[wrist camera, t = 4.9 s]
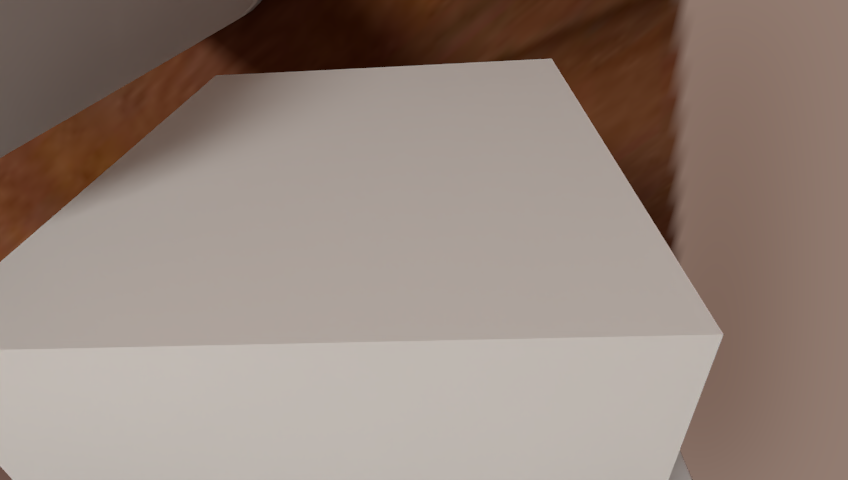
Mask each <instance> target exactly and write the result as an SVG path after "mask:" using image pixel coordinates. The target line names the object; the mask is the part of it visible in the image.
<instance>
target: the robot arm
mask: <svg viewBox="0 0 848 480" xmlns="http://www.w3.org/2000/svg"><path fill="white" fill-rule="evenodd" d="M669 480H692V477H691V475H690V473H689V471H688V468H687V466H686V463H685V461H684V459H683V456H682V454H681V452H680V451H679V454H678V456H677V459H676V461H675V464H674V467H673V469H672V472H671V475H670V477H669Z"/></svg>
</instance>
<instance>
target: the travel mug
mask: <svg viewBox="0 0 848 480" xmlns="http://www.w3.org/2000/svg"><path fill="white" fill-rule="evenodd" d="M261 1H262V0H0V158H1V157H2V156H4V155H6V154H8V153H9V152H11V151H13V150H14V149H16V148H18V147H20V146H21V145H23V144H25V143H27V142H28V141H30V140H32V139H33V138H35V137H37V136H39V135H40V134H42V133H44V132H45V131H47V130H49V129H51V128H52V127H54V126H56V125H57V124H59V123H61V122H63V121H64V120H66V119H68V118H70V117H71V116H73V115H75V114H76V113H78V112H80V111H82V110H83V109H85V108H87V107H88V106H90V105H92V104H94V103H95V102H97V101H99V100H100V99H102V98H104V97H106V96H107V95H109V94H111V93H113V92H114V91H116V90H118V89H119V88H121V87H123V86H125V85H126V84H128V83H130V82H131V81H133V80H135V79H137V78H138V77H140V76H142V75H143V74H145V73H147V72H149V71H150V70H152V69H154V68H156V67H157V66H159V65H161V64H162V63H164V62H166V61H168V60H169V59H171V58H173V57H174V56H176V55H178V54H180V53H181V52H183V51H185V50H186V49H188V48H190V47H192V46H193V45H195V44H197V43H199V42H200V41H202V40H204V39H205V38H207V37H209V36H211V35H212V34H214V33H216V32H217V31H219V30H221V29H223V28H224V27H226V26H228V25H229V24H231V23H233V22H235V21H236V20H238V19H240V18H241V17H243V16H245V15H246V14H248V13H249V12H251V11H252V10H254V8H255V7H256V6H257V5H258V4H259V3H260V2H261Z"/></svg>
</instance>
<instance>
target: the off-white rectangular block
mask: <svg viewBox="0 0 848 480" xmlns="http://www.w3.org/2000/svg"><path fill="white" fill-rule="evenodd" d="M722 337H723V333H722V331H721V329H720V328H719V326H718V325H717V323H716V321H715V320H714V319H713V317H712V315H711V313H710V312H709V310H708V309H707V308H706V305H705V304H704V302H703V301H702V299H701V297H700V296H699V294H698V293H697V291H696V289H695V288H694V286H693V285H692V283H691V281H690V280H689V278H688V277H687V275H686V273H685V272H684V270H683V269H682V267H681V265H680V264H679V262H678V261H677V259H676V257H675V256H674V254H673V253H672V251H671V249H670V248H669V246H668V244H667V243H666V241H665V240H664V238H663V236H662V235H661V233H660V232H659V230H658V228H657V227H656V225H655V224H654V222H653V220H652V219H651V217H650V216H649V214H648V212H647V211H646V209H645V208H644V206H643V204H642V203H641V201H640V200H639V198H638V196H637V195H636V193H635V192H634V190H633V188H632V187H631V185H630V184H629V182H628V180H627V179H626V177H625V176H624V174H623V172H622V171H621V169H620V168H619V166H618V164H617V163H616V161H615V160H614V158H613V156H612V155H611V153H610V152H609V150H608V148H607V147H606V145H605V144H604V142H603V140H602V139H601V137H600V136H599V134H598V132H597V131H596V129H595V127H594V126H593V124H592V123H591V121H590V119H589V118H588V116H587V115H586V113H585V111H584V110H583V108H582V107H581V105H580V103H579V102H578V100H577V99H576V97H575V95H574V94H573V92H572V91H571V89H570V87H569V86H568V84H567V83H566V81H565V79H564V78H563V76H562V75H561V73H560V71H559V70H558V68H557V67H556V65H555V63H554V62H553V60H552V59H535V60H515V61H495V62H475V63H455V64H436V65H416V66H396V67H376V68H356V69H336V70H316V71H297V72H277V73H257V74H237V75H217V76H215V77H214V78H213V79H211V80H210V81H209V82H208V83H207V84H206V85H204V86H203V87H202V88H201V89H200V90H199V91H198V92H196V93H195V94H194V95H193V96H192V97H191V98H189V99H188V100H187V101H186V102H185V103H184V104H182V105H181V106H180V107H179V108H178V109H177V110H176V111H174V112H173V113H172V114H171V115H170V116H169V117H167V118H166V119H165V120H164V121H163V122H162V123H161V124H159V125H158V126H157V127H156V128H155V129H154V130H152V131H151V132H150V133H149V134H148V135H147V136H146V137H144V138H143V139H142V140H141V141H140V142H139V143H137V144H136V145H135V146H134V147H133V148H132V149H130V150H129V151H128V152H127V153H126V154H125V155H124V156H122V157H121V158H120V159H119V160H118V161H117V162H115V163H114V164H113V165H112V166H111V167H110V168H109V169H107V170H106V171H105V172H104V173H103V174H102V175H100V176H99V177H98V178H97V179H96V180H95V181H93V182H92V183H91V184H90V185H89V186H88V187H87V188H85V189H84V190H83V191H82V192H81V193H80V194H78V195H77V196H76V197H75V198H74V199H73V200H72V201H70V202H69V203H68V204H67V205H66V206H65V207H63V208H62V209H61V210H60V211H59V212H58V213H57V214H55V215H54V216H53V217H52V218H51V219H50V220H48V221H47V222H46V223H45V224H44V225H43V226H41V227H40V228H39V229H38V230H37V231H36V232H35V233H33V234H32V235H31V236H30V237H29V238H28V239H26V240H25V241H24V242H23V243H22V244H21V245H20V246H18V247H17V248H16V249H15V250H14V251H13V252H11V253H10V254H9V255H8V256H7V257H6V258H4V259H3V260H2V261H1V262H0V466H1V467H2V468H3V469H4V471H5V472H6V473H7V474H8V475H9V476H10V477H11V478H12V479H13V480H669V477H670V475H671V472H672V469H673V467H674V464H675V461H676V459H677V456H678V454H679V451H680V448H681V446H682V443H683V440H684V437H685V435H686V432H687V430H688V427H689V424H690V422H691V419H692V417H693V414H694V411H695V409H696V406H697V403H698V400H699V398H700V395H701V393H702V390H703V387H704V385H705V382H706V379H707V377H708V374H709V372H710V369H711V366H712V364H713V361H714V358H715V356H716V353H717V350H718V348H719V345H720V343H721V340H722Z"/></svg>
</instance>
